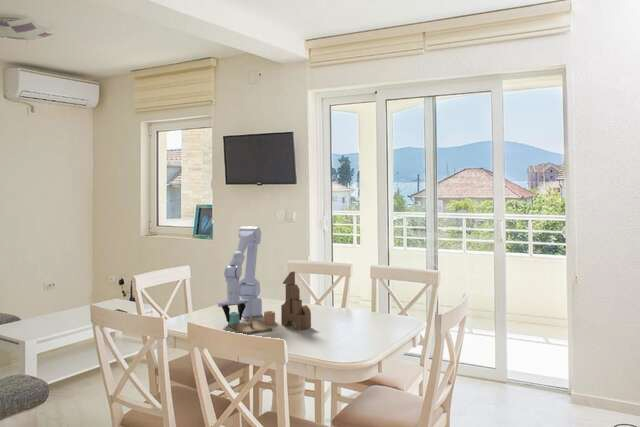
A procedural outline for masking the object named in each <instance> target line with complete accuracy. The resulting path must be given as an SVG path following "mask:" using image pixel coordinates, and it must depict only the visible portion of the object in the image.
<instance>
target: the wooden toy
mask: <svg viewBox="0 0 640 427" xmlns="http://www.w3.org/2000/svg"><path fill="white" fill-rule="evenodd" d="M282 284H283V285H285V301H284V303H283V304H281V305H280V306H281V308H280V309H281V311H280V312H281V314H280V315H281V316H280V317H281V319H280V320H281V326H284V327H287V326H289V327H290V326H292V324H293V325H294V327H295V330H298V331H304V330H307V329H311V328H312V324H311V323H312V314H311V308H309V306H308V305H307V304H305V305H303V300H302V299H300V298H301V296H300V293H301V292H300V287H299V286H298V284H296V272H295V271H290V272H289V273H288V275H287V276H286V278H285V279H284V280H283V282H282Z"/></svg>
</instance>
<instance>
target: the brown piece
mask: <svg viewBox="0 0 640 427" xmlns="http://www.w3.org/2000/svg"><path fill="white" fill-rule="evenodd" d="M229 326H230V328H232V329H233V330H234V331H236V332H237V333H239V334H240V333H243V334H245V335H249V334H250V335H251V334H257V333H263V332H269V331H270V332H271V331H273V327H271V326H269V324H264V321H263V322H262V321H261V320H253V317H252V314H250V317H249V321H245V322H240V323H236V324H230V325H229Z"/></svg>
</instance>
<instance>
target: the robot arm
mask: <svg viewBox="0 0 640 427" xmlns="http://www.w3.org/2000/svg"><path fill="white" fill-rule="evenodd" d="M238 238H239V241H238V244H237V245H238V246H237V249H236V251H235V252H233V254H232V257H231V259H230V261H229V264H228V266H226V267H225V268H224V277H225V282H226V293H227V294H226V299H227V300H224V301H219V302H218V301H217V307H218V308H221V309H222V311H223V313H224V316H225V319H226V322H227V323H228V322H229V321H230V319H229V312H231V311H230V310H231V308H230V307H232V306H236V307H237V312H239V313H240V321H242V317H243V318H250V314H252V318H253V317H258V316H259V317H260V316H263V306H262V305H263V302H262V298H261V297H260V294H261V286H260V284H261V283H260V281H259V280H258V279H257V278H256V268H257V256H258V245H260V244H261V238H262V231H261V228H260V227H259V226H241V227H239V229H238ZM245 252H246V256H245V255H244V254H245ZM245 257H246V260H245ZM244 261H245V268H244V269H245V270H244V277H243V278H242V279H241V277H242V274H243V273H242V272H243V267H242V266H243V264H244ZM240 279H241V280H240Z"/></svg>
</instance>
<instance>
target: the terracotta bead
mask: <svg viewBox="0 0 640 427" xmlns="http://www.w3.org/2000/svg"><path fill="white" fill-rule="evenodd" d="M263 323H264V324H266V325H273V324H276V311H274V310H266V311H264V312H263Z"/></svg>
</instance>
